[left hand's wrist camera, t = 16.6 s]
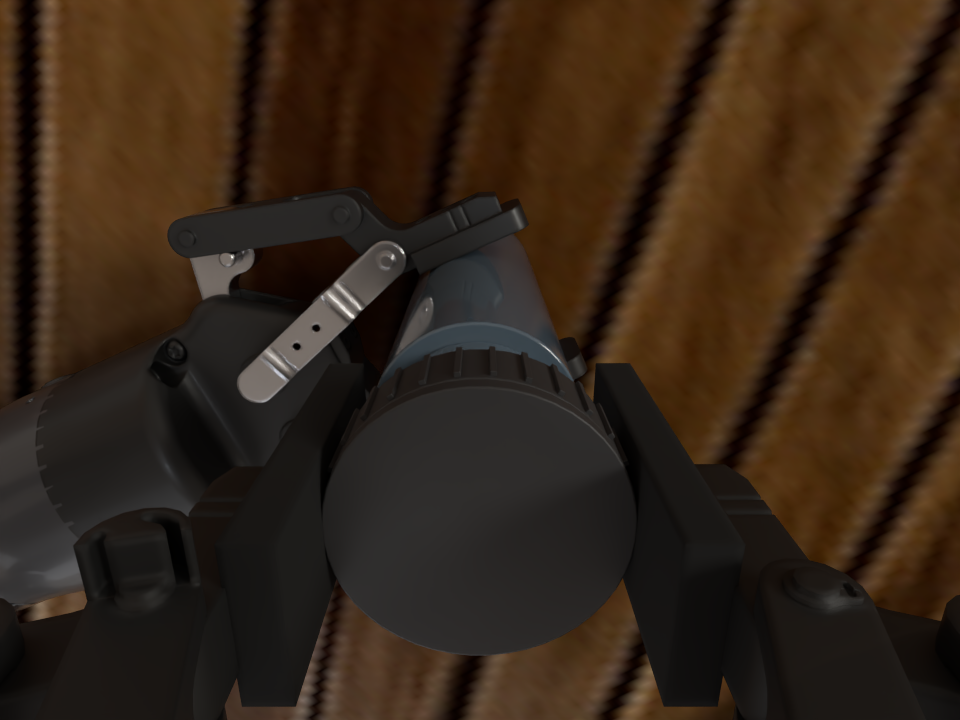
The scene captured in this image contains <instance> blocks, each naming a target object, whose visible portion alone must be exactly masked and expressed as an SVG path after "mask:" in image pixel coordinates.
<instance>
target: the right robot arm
mask: <svg viewBox="0 0 960 720" xmlns="http://www.w3.org/2000/svg"><path fill="white" fill-rule="evenodd" d="M528 225H529V223H528V221H527V218H526V216H525V213H524V211H523V209H522V206H521V204H520V202H519V200H518V199H513V200H510V201H508V202H505V203H503V204H501V205H500V203H499V200H498V198H497V196H496V193H495V192H478V193H476V194H474V195H471V196H469V197H467V198H465V199H463V200H460V201H458V202H456V203H454V204H452V205H450V206H447V207H445V208H443V209H441V210H438V211H436V212H434V213H432V214H430V215H427V216H425V217H423V218H421V219H419V220H417V221H414V222H412V223H407V224H401V223H397V222H394V221H392V220H391V219H389V218H388V217H387V216H386V215H385V214H384V213H383V212H382V211H381V210H380V209H379V208H378V207H377V206H376V205H375V204H374V203H373V199H372V197H371V196H370V194H369V193H368V192H367V191H366V190H364V189H363V188H360V187H347V188H341V189H334V190H328V191H322V192H315V193H309V194H302V195H296V196H290V197H283V198H277V199H270V200H264V201H257V202H251V203H245V204H238V205H232V206H225V207H219V208H213V209H209V210H206V211H203V212H199V213H196V214H193V215H190V216H187V217H184V218H181V219H178V220H176V221H174V222H173V223H172V224H171V225H170V227H169V229H168V241H169V244H170V246H171V247H172V249H173V250H174V251H175V252H176V253H177V254H179V255H181V256H183V257H186V258H190V260H191V264H192V267H193V270H194V273H195V276H196V280H197V283H198V286H199V289H200V292H201V295H202V299H203V301H201V302H200V303H199V304H198V305H197V306H196V307H195V308H194V310H193V311H192V313H191V315H190V316H189V318H188V319H187V321H186V322H185V323H184V324H182V325H180V326H178V327H176V328H174V329H171V330H169V331H167V332H165V333H163V334H160V335H158V336H156V337H154V338H152V339H149V340H147V341H145V342H143V343H141V344H138V345H136V346H134V347H132V348H130V349H127V350H125V351H123V352H121V353H119V354H116V355H114V356H112V357H110V358H108V359H105V360H103V361H101V362H99V363H97V364H94V365H92V366H90V367H88V368H86V369H84V370H81V371H79V372H77V373H75V374H69V375H66V376H62V377H59V378H57V379H54V380H52V381H50V382H48V383H46V384H45V385H44V386H43V387H41V389H40V390H37V391H35V392H33V393H31V394H29V395H27V396H24V397H22V398H20V399H18V400H16V401H14V402H12V403H10V404H8V405H6V406H5V407H3V408H1V409H0V598H4V599H5V600H6V601H8V602H9V603H10V604H11V605H13V606H14V609H15V612H17V611H20V610H22V609H25V608H27V607H30V606H32V605H35V604H37V603H40V602H42V601H45V600H47V599H50V598H53V597H57V596H61V595H66V594H70V593H75V592H79V591H83V590H84V586H83V582H82V578H81V574H80V571H79V567H78V563H77V559H76V556H75V552H74V548H73V545H74V544H75V543H76V542H77V541H78V539H79V538H80V537H81V536H82V535H83V534H84V533H85V532H86V531H88V530H90V529H91V528H93V527H94V526H96V525H97V524H99V523H100V522H102V521H104V520H107V519H109V518H112V517H114V516H117V515H119V514H122V513H125V512H129V511H134V510H138V509H143V508H159V507H166V508H171V509H175V510H179V511H182V512H183V513H184V514H185V515H186V516H188V515H189V514H188V513H189V512H190V511H191V509H192V508H193V507H194V505H195V504H196V503H197V502H199V501H200V497H201V496H202V495H203V493H204V492H205V491H206V490H207V488H208V487H209V486H210V484H211V483H212V482H213V481H214V480H215V479H217V478H219V477H220V476H222V475H223V474H225V473H226V472H228V471H229V470H231V469H232V468H234V467H235V466H265V464H266V463H267V461H268V459H269V458H270V456H271V455H272V453H273V452H274V450H275V448H276V447H277V445H278V444H279V442H280V441H281V439H282V437H283V436H284V434H285V433H286V431H287V430H288V428H289V427H290V425H291V423H292V422H293V420H294V419H295V417H296V416H297V414H298V412H299V411H300V409H301V408H302V406H303V405H304V403H305V401H306V400H307V398H308V397H309V395H310V394H311V392H312V391H313V389H314V387H315V386H316V384H317V383H318V381H319V380H320V378H321V376H322V375H323V373H324V372H325V370H326V369H327V367H328V365H329V364H330V363H364V376H365V391H366V401H367V399H368V397H369V394H370V392H371V390H372V388H373V387H374V386H378V383H379V381H380V378H381V374H380V372H379V371H378V370H377V369H376V368H375V367H374V366H373V365H372V364H371V363H370V361H369V360H368V359H367V358H366V357H365V355H364V351H363V347H362V343H361V338H360V335H359V333H358V331H357V329H356V327H355V325H354V323H353V322H352V321H353V320H354V319H355V318H356V317H357V316H358V315H359V313H360V312H361V311H362V310H363V309H364V308H365V307H366V306H367V305H368V304H369V303H371V302H372V301H373V300H374V299H375V298H376V297H377V296H378V295H379V294H380V293H381V292H382V291H383V290H384V289H386V288H387V287H388V286H389V285H390V284H391V283H392V282H393V281H394V280H395V279H396V278H397V277H398V276H399V275H401V274H404V273H406V272H408V271H410V270H413V269H415V268H417V270H418V272H419V274H420V275H421V274H423V273H425V272H428V271H430V270H432V269H434V268H437V267H439V266H441V265H443V264H445V263H447V262H449V261H452V260H455V259H457V258H459V257H462V256H464V255H466V254H468V253H471V252H473V251H475V250H477V249H480V248H482V247H484V246H486V245H489V244H491V243H493V242H495V241H498V240H500V239H502V238H505V237H507V236H509V235H511V234H514V233H516V232H518V231H520V230H522V229H524V228H525V227H527V226H528ZM335 236H341V237H342V238H343V239H344V240H345V241H346V242H347V243H348V244H349V245H350V246H351V247H352V248H353V249H354V250H355V251H356V252H357V253H358V254H359V255H360V256H359V257H358V258H357V259H356V260H355V261H354V262H353V263H352V264H351V265H350V266H349V267H348V268H346V269H345V270H344V271H343V272H342V273H341V274H340V275H339V276H338V277H337V278H336V279H335V280H334V281H333V282H332V283H331V284H330V285H329V286H328V287H327V288H326V289H325V290H324V291H323V292H321V293H320V294H319V295H318V296H317V297H316V298H315V299H314V300H313V301H312V302H307V301H302V300H297V299H292V298H287V297H283V296H278V295H273V294H268V293H263V292H258V291H253V290H248V289H243V288H239V284H238V281H239V277H240V275H241V273H243V272H246V271H247V270H249V269H251V268H252V267H254V266H255V265H257V264H258V263H259V262H260V261H261V259H262V256H263V247H269V246H276V245H282V244H289V243H295V242H302V241H308V240H315V239H322V238H328V237H335ZM559 342H560V345H561V348H562V350H563V353H564V356H565V358H566V361H567V364H568V366H569V369H570V372H571V375H572V377H573V380H574V379H577V378H579V377H580V376H582V375H583V374H584V373H585V372H586V371H587V367H586V364H585V362H584V359H583V357H582V354H581V352H580V350H579V347H578V345H577V343H576V341H575V339H574V338H572V337H568V338H564V339H561V340H559Z"/></svg>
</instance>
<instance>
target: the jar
mask: <svg viewBox="0 0 960 720" xmlns="http://www.w3.org/2000/svg"><path fill="white" fill-rule="evenodd" d="M489 346H495V349H496V350H498V351H507V352H511V353H515V354H519V355H521V353H522V352H525V353H528V357H529V358H532V359H535V360H537V361H540V362H542V363H545V364H546V365H548V366H551V364H554V365H556V366H557V367H558V371H559V372H561V373H562V374H564V375H565V376H566V377H568V378H569V379H570V380H572V381H573V382H574V380H573V377H572V375H571V372H570V369H569V366H568V364H567V361H566V358H565V356H564V353H563V350H562V348H561V345H560V342H559V340H558V337H557V334H556V332H555V329H554V326H553V324H552V321H551V318H550V315H549V313H548V310H547V307H546V305H545V302H544V299H543V297H542V294H541V291H540V289H539V286H538V283H537V281H536V278H535V275H534V272H533V270H532V267H531V264H530V262H529V259H528V256H527V254H526V251H525V249H524V247H523V245H522V244H521V243H520V241H519V240H518V239H517V238H516V237H515V236H514V235H513V234H511V235H509V236H507V237H505V238H502V239H500V240H498V241H495V242H493V243H491V244H489V245H486V246H484V247H482V248H480V249H477V250H475V251H473V252H471V253H468V254H466V255H464V256H462V257H459V258H457V259H455V260H452V261H449V262H447V263H445V264H443V265H441V266H439V267H437V268H434V269H432V270H430V271H428V272H425V273H423V274H421V275H420V276H419V279H418V281H417V284H416V286H415V289H414V292H413V294H412V297H411V299H410V302H409V305H408V307H407V310H406V313H405V315H404V318H403V320H402V323H401V326H400V328H399V331H398V333H397V336H396V339H395V341H394V344H393V347H392V349H391V352H390V354H389V357H388V360H387V362H386V365H385V367H384V370H383V373H382V375H381V378H380V381H379V383H378V386H377V387H378V388H379V387H380V386H381V385H382V384H383V383H385V382H386V381H387V380H389V379H390V378H391V377H393V376H394V373H395V370H396V369H398V368H399V367H401V368H402V370H403V369H405V368H407V367H409V366H411V365H412V364H414V363H417V362H419V361H422V360H423V359H424V356H425V355H427V354H430V355H431V357H432V356H436V355H440V354H444V353H448V352H453V351H456V347H462V349H463V350H468V349H489Z"/></svg>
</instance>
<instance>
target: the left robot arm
mask: <svg viewBox="0 0 960 720" xmlns="http://www.w3.org/2000/svg"><path fill="white" fill-rule="evenodd" d="M365 403H366V391H365V376H364V363H330V364H329V365H328V367H327V369H326V370H325V372H324V373H323V375H322V376H321V378H320V380H319V381H318V383H317V384H316V386H315V387H314V389H313V391H312V392H311V394H310V395H309V397H308V398H307V400H306V401H305V403H304V405H303V406H302V408H301V409H300V411H299V412H298V414H297V416H296V417H295V419H294V420H293V422H292V423H291V425H290V427H289V428H288V430H287V431H286V433H285V434H284V436H283V437H282V439H281V441H280V442H279V444H278V445H277V447H276V448H275V450H274V452H273V453H272V455H271V456H270V458H269V459H268V461H267V463H266V464H265V466H235V467H234V468H232V469H231V470H229V471H228V472H226V473H225V474H223V475H222V476H220V477H219V478H217V479H215V480H214V481H213V482H212V483H211V484H210V486H209V487H208V488H207V490H206V491H205V492H204V493H203V495H202V496H201V497H200V501H199V502H197V503H196V504H195V505H194V507H193V508H192V509H191V511H190V512H189V513H188V514H189V515H188V516H186V515H185V514H184V513H183V512H182V511H179V510H175V509H171V508H166V507H159V508H143V509H138V510H134V511H129V512H125V513H122V514H119V515H117V516H114V517H112V518H109V519H107V520H104V521H102V522H100V523H99V524H97V525H96V526H94V527H93V528H91V529H90V530H88V531H86V532H85V533H84V534H83V535H82V536H81V537H80V538H79V539H78V541H77V542H76V543H75V544H74V545H73V548H74V552H75V556H76V559H77V563H78V567H79V571H80V574H81V578H82V582H83V586H84V590H85V593H86V597H87V604H86V606H85V608H84V609H83V610H79V611H76V612H72V613H68V614H64V615H59V616H54V617H50V618H45V619H40V620H36V621H31V622H26V623H22V624H19V622H18V619H17V616H16V612H15V609H14V606H13V605H11V604H10V603H9V602H8V601H6V600H5V599H4V598H0V720H227V716H226V711H225V703H226V701H227V698H228V696H229V694H230V692H231V689H232V687H233V685H234V683H235V680H236V678H237V680H238V686H239V692H240V698H241V703H242V707H296V704H297V701H298V698H299V695H300V691H301V688H302V685H303V682H304V679H305V676H306V673H307V669H308V666H309V663H310V660H311V657H312V654H313V651H314V648H315V644H316V641H317V638H318V635H319V632H320V629H321V626H322V622H323V619H324V616H325V613H326V610H327V607H328V604H329V600H330V597H331V594H332V591H333V588H334V585H335V582H336V577H335V575H334V573H333V570H332V568H331V566H330V563H329V561H328V559H327V555H326V551H325V546H324V536H323V527H322V502H323V497H324V492H325V488H326V485H327V482H328V480H329V477H330V474H331V473H330V472H327V470H328V467H329V465H330V462H331V460H332V458H333V456H334V454H335V451H336V449H337V447H338V445H339V442H340V440H341V438H342V436H343V434H344V432H345V430H346V428H347V426H348V424H349V421H350V419H351V417H352V415H353V412H354V411H355V409H356V408H357V409H359V410H360V409H361V408H362V407H363V405H364V404H365ZM593 403H594V404H595V405H596V404H597V403H600V405H601V406H602V408H603V410H604V413H605V415H606V417H607V420H608V422H609V424H610V426H611V428H614V430H615V433H616V435H617V437H618V439H619V442H620V444H621V446H622V448H623V451H624V453H625V455H626V457H627V460H628V462H629V465H628V466H626V467H625V468H626V470H627V472H628V475H629V478H630V480H631V483H632V485H633V489H634V493H635V498H636V503H637V515H638V520H637V532H636V542H635V547H634V551H633V555H632V558H631V561H630V563H629V565H628V568H627V570H626V573H625V575H624V576H623V580H624V583H625V586H626V589H627V592H628V595H629V598H630V602H631V605H632V608H633V611H634V614H635V617H636V620H637V624H638V627H639V630H640V633H641V636H642V639H643V642H644V646H645V649H646V652H647V655H648V658H649V661H650V664H651V668H652V671H653V674H654V677H655V680H656V683H657V686H658V690H659V693H660V696H661V699H662V702H663V705H664V707H718V701H719V695H720V689H721V684H722V678H723V676H724V678H725V680H726V683H727V685H728V687H729V689H730V691H731V694H732V696H733V698H734V700H735V703H736V705H735V711H734V716H733V720H960V595H957V596H955V597H954V598H953V599H952V600H950V601H949V602H948V603H947V604H946V608H945V611H944V614H943V617H942V620H941V621H937V620H933V619H928V618H923V617H919V616H914V615H909V614H905V613H900V612H895V611H891V610H887V609H883V608H880V607H876V606H875V605H874V602H873V600H872V599H871V598H870V596H869V595H868V594H867V592H866V591H865V589H864V588H863V587H862V586H861V585H860V584H858V583H857V582H856V581H854V580H853V579H852V578H850V577H849V576H848V575H846V574H845V573H842V572H840V571H838V570H836V569H834V568H832V567H830V566H827V565H825V564H821V563H818V562H814V561H810V560H808V558H807V557H806V556H805V554H804V553H803V552H802V550H801V549H800V548H799V546H798V545H797V544H796V543H795V541H794V540H793V539H792V537H791V536H790V535H789V533H788V532H787V531H786V529H785V528H784V527H783V525H782V524H781V523H780V522H779V520H778V519H777V518H776V516H775V515H772V513H771V510H770V508H769V507H768V506H767V505H766V503H765V502H764V501H763V500H761V499H760V495H759V494H758V493H757V491H756V490H755V489H754V487H753V486H752V485H751V484H750V482H749V481H748V480H747V479H746V478H745V477H743V476H742V475H740V474H738V473H737V472H735V471H734V470H732V469H731V468H729V467H728V466H726V465H725V464H694V463H693V462H692V460H691V458H690V457H689V455H688V454H687V452H686V451H685V449H684V448H683V446H682V444H681V443H680V441H679V440H678V438H677V437H676V435H675V433H674V432H673V430H672V429H671V427H670V426H669V424H668V422H667V421H666V419H665V418H664V416H663V415H662V413H661V412H660V410H659V408H658V407H657V405H656V404H655V402H654V401H653V399H652V397H651V396H650V394H649V393H648V391H647V390H646V388H645V386H644V385H643V383H642V382H641V380H640V379H639V377H638V375H637V374H636V372H635V371H634V369H633V368H632V366H631V365H630V363H596V370H595V385H594V400H593Z"/></svg>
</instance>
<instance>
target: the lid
mask: <svg viewBox="0 0 960 720" xmlns="http://www.w3.org/2000/svg"><path fill="white" fill-rule="evenodd" d="M628 465H629V462H628V460H627V457H626V455H625V453H624V451H623V448H622V446H621V444H620V442H619V439H618V437H617V435H616V433H615V430H614V428H611V426H610V424H609V422H608V420H607V417H606V415H605V413H604V410H603V408H602V406H601V405H600V403H597V404H596V405H595V404H594V403H593V401H592V400H591V399H590V398H589V396H588V395H587V394H586V393H585V390H584V388H583V385H582V384H581V383H580V382H579V381H577V382H576V383H574V382H573V381H572V380H570V379H569V378H568V377H566V376H565V375H564V374H562V373H561V372H559V371H558V367H557V366H556V365H554V364H551V366H548V365H546V364H545V363H542V362H540V361H537V360H535V359H532V358H529V357H528V353H525V352H522V353H521V355H519V354H515V353H511V352H507V351H498V350H496V349H495V346H489V349H468V350H463V349H462V347H456V351H453V352H448V353H444V354H440V355H436V356H432V357H431V355H430V354H427V355H425V356H424V359H423V360H422V361H419V362H417V363H414V364H412V365H411V366H409V367H407V368H405V369H403V370H402V368H401V367H399V368H398V369H396V370H395V373H394V376H393V377H391V378H390V379H389V380H387V381H386V382H385V383H383V384H382V385H381V386H380V387H379V388H378V387H377V386H374V387H373V388H372V390H371V392H370V394H369V397H368V399H367V401H366V403H365V404H364V405H363V407H362V408H361V409H360V410H359V409H357V408H356V409H355V411H354V412H353V415H352V417H351V419H350V421H349V424H348V426H347V428H346V430H345V432H344V434H343V436H342V438H341V440H340V442H339V445H338V447H337V449H336V451H335V454H334V456H333V458H332V460H331V462H330V465H329V467H328V470H327V472H330V473H331V474H330V477H329V480H328V482H327V485H326V488H325V492H324V497H323V502H322V527H323V536H324V546H325V551H326V555H327V559H328V561H329V563H330V566H331V568H332V570H333V573H334V575H335V577H336V578H337V580H338V582H339V583H340V585H341V587H342V588H343V590H344V591H345V592H346V594H347V595H348V596H349V597H350V599H351V600H352V601H353V602H354V604H355V605H356V606H358V607H359V608H360V609H361V610H362V611H363V612H364V613H365V614H366V615H367V616H368V617H369V618H371V619H372V620H373V621H375V622H376V623H377V624H379V625H380V626H381V627H383V628H385V629H386V630H388V631H390V632H391V633H393V634H395V635H397V636H398V637H401V638H403V639H405V640H407V641H410V642H412V643H414V644H417V645H420V646H423V647H427V648H430V649H433V650H438V651H442V652H447V653H453V654H463V655H496V654H506V653H512V652H517V651H521V650H526V649H529V648H532V647H536V646H539V645H542V644H545V643H547V642H549V641H551V640H554V639H556V638H558V637H560V636H562V635H564V634H566V633H568V632H569V631H571V630H573V629H574V628H576V627H578V626H579V625H580V624H582V623H583V622H584V621H586V620H587V619H588V618H589V617H591V616H592V615H593V614H594V613H595V612H596V611H597V610H598V609H599V608H600V607H601V606H602V605H603V604H604V603H605V602H606V601H607V600H608V598H609V597H610V596H611V595H612V593H613V592H614V591H615V590H616V588H617V586H618V585H619V583H620V581H621V580H622V578H623V576H624V575H625V573H626V570H627V568H628V565H629V563H630V561H631V558H632V555H633V551H634V547H635V542H636V532H637V520H638V515H637V503H636V498H635V493H634V489H633V485H632V483H631V480H630V478H629V475H628V472H627V470H626V468H625V467H626V466H628Z"/></svg>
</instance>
